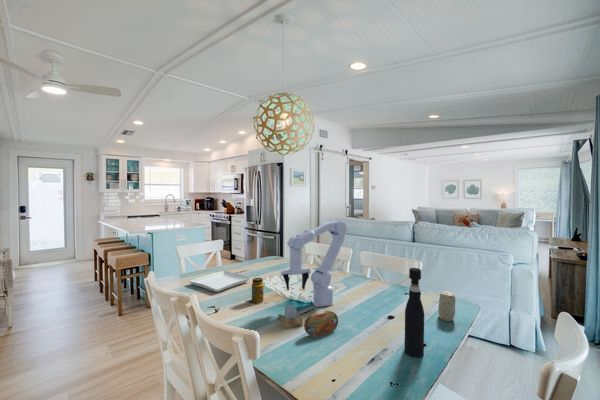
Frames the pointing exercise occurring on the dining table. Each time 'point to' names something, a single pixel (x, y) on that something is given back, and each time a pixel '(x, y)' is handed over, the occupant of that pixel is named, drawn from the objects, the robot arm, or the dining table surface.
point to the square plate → (220, 280)
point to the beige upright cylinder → (446, 306)
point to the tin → (320, 323)
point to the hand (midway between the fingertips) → (295, 289)
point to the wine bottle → (414, 317)
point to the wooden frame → (291, 321)
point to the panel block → (290, 312)
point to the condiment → (257, 292)
